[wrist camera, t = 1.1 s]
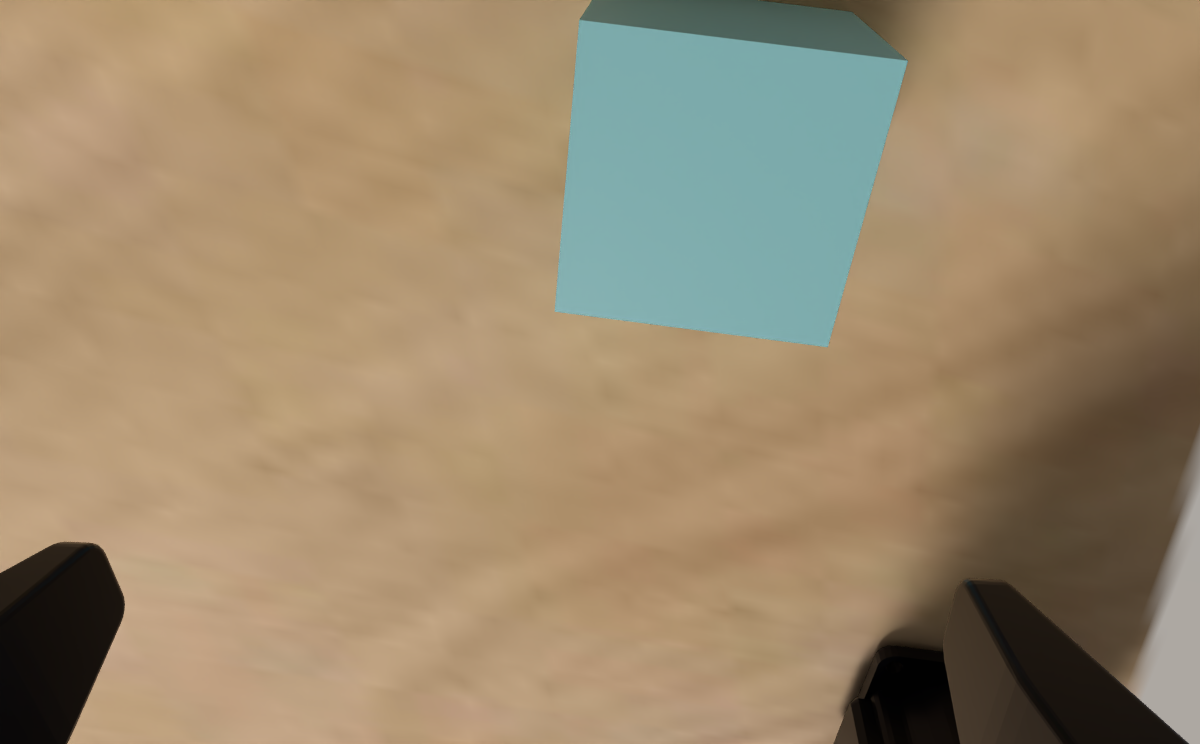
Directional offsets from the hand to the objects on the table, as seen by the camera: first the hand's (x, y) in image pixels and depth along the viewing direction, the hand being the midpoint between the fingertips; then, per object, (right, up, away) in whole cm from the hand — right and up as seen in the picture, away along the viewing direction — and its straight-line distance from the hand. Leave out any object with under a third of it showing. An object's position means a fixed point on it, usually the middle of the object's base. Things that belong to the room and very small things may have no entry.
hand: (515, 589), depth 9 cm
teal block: (+3, +8, +9) cm, 13 cm away
